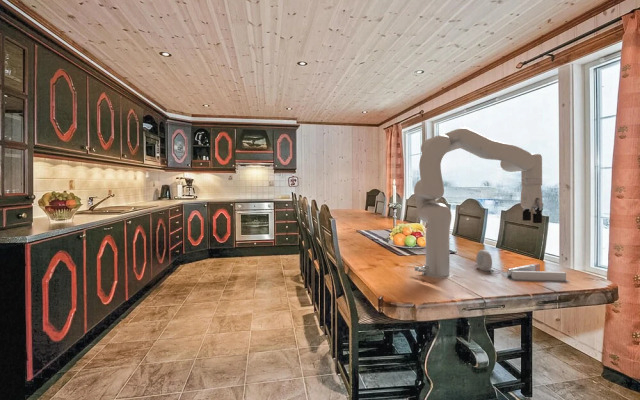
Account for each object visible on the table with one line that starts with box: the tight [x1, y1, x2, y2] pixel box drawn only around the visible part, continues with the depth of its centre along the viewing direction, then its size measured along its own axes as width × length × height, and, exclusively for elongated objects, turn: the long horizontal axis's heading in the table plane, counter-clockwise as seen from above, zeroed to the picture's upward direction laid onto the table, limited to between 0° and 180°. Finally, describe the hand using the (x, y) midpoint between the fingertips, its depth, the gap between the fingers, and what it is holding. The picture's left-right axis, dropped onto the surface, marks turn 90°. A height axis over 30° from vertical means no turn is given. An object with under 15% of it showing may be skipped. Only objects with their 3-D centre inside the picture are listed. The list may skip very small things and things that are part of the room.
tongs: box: [499, 270, 570, 283], centre depth 129 cm, size 21×12×4 cm, turn 81°
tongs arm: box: [506, 262, 541, 278], centre depth 133 cm, size 20×2×3 cm, turn 116°
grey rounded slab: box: [475, 249, 493, 272], centre depth 142 cm, size 10×4×10 cm, turn 179°
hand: (531, 221), depth 138 cm, fingers open, 9 cm apart
